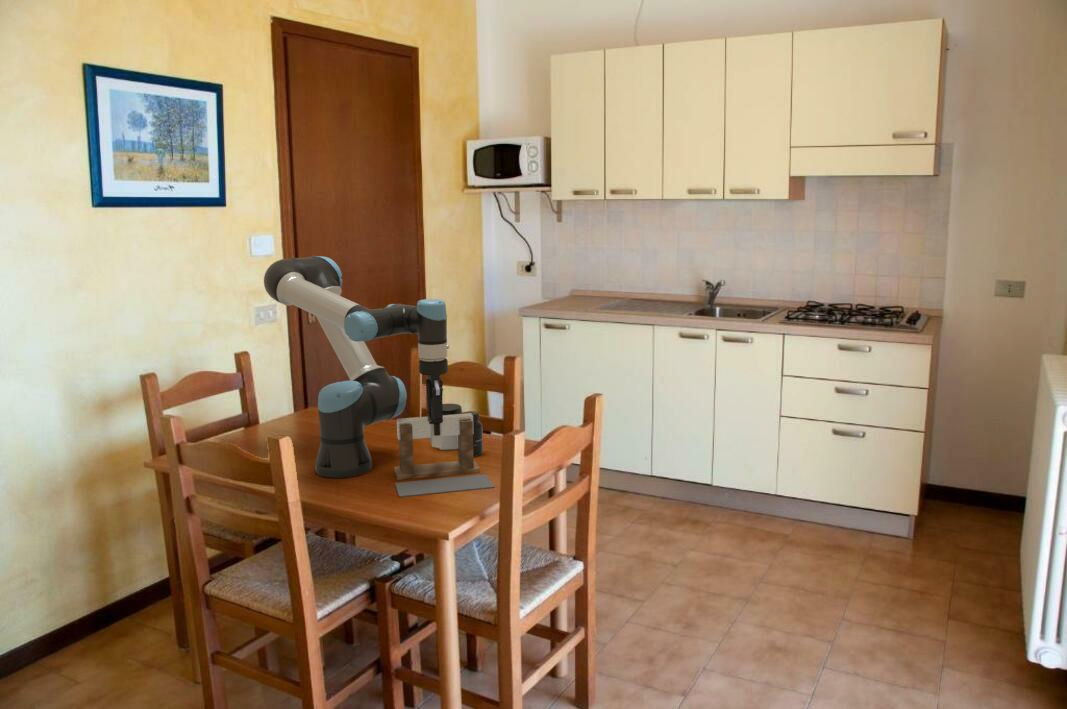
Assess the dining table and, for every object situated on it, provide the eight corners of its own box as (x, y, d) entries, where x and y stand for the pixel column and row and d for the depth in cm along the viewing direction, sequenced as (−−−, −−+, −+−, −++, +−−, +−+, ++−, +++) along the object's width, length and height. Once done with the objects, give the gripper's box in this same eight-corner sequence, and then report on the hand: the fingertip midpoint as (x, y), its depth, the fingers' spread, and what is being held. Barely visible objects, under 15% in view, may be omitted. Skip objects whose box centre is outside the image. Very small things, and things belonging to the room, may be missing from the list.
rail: (398, 440, 222) (397, 421, 221) (397, 437, 225) (396, 418, 224) (473, 433, 227) (473, 415, 226) (471, 430, 230) (470, 413, 229)
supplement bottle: (483, 456, 240) (482, 415, 238) (458, 457, 240) (457, 416, 237) (483, 449, 247) (482, 409, 244) (459, 450, 246) (458, 410, 244)
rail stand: (397, 479, 221) (395, 428, 219) (394, 470, 229) (392, 420, 226) (479, 472, 227) (478, 421, 224) (473, 463, 234) (472, 414, 232)
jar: (468, 446, 250) (467, 407, 247) (445, 452, 245) (444, 412, 242) (451, 440, 256) (450, 401, 254) (428, 445, 251) (427, 406, 249)
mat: (399, 497, 209) (399, 496, 209) (394, 484, 218) (394, 483, 218) (494, 487, 215) (494, 486, 215) (485, 475, 224) (485, 474, 224)
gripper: (452, 363, 215) (455, 451, 220) (442, 352, 231) (444, 435, 235) (423, 365, 213) (426, 454, 218) (414, 353, 229) (417, 437, 233)
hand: (435, 444), depth 226 cm, fingers closed on rail, 3 cm apart
